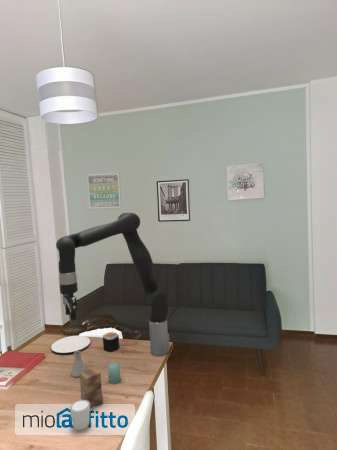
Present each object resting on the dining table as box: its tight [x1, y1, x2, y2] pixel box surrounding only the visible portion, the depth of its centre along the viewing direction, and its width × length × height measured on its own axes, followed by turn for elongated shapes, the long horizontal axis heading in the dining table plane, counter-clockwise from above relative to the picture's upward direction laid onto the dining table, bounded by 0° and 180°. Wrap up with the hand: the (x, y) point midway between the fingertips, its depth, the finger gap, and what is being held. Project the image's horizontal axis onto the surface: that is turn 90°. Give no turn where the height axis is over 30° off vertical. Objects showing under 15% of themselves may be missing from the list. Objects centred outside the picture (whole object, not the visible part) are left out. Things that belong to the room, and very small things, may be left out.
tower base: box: [80, 386, 103, 409], centre depth 122 cm, size 7×7×6 cm
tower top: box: [79, 366, 102, 394], centre depth 122 cm, size 6×6×6 cm
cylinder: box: [107, 361, 121, 385], centre depth 137 cm, size 5×5×7 cm
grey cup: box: [69, 399, 91, 431], centre depth 110 cm, size 7×7×7 cm
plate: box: [50, 335, 91, 354], centre depth 172 cm, size 21×21×2 cm
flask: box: [70, 350, 87, 378], centre depth 144 cm, size 7×7×10 cm
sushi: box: [102, 331, 120, 353], centre depth 167 cm, size 8×8×8 cm
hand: (70, 317), depth 140 cm, fingers open, 8 cm apart
